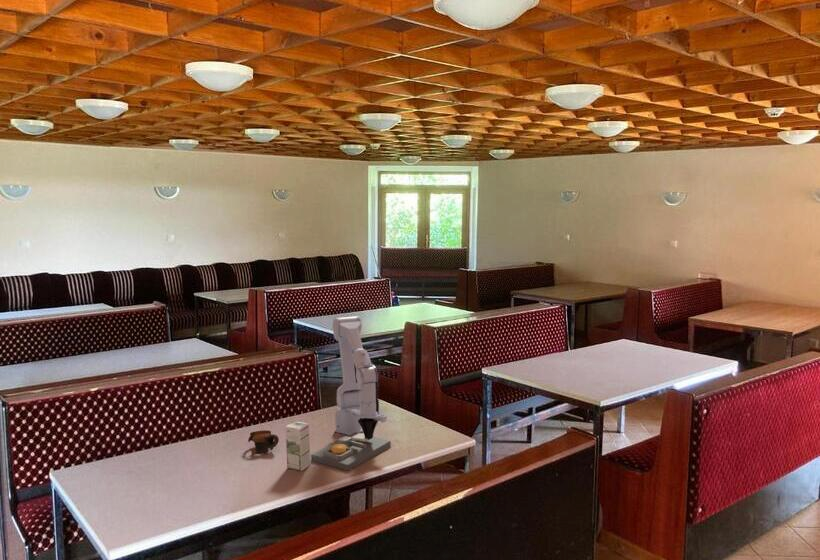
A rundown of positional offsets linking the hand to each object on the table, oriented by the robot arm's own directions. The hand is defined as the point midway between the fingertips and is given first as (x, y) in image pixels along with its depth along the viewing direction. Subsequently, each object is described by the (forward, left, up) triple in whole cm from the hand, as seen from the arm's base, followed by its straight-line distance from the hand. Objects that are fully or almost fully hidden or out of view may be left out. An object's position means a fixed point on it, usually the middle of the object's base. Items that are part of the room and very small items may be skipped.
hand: (368, 438), depth 213 cm
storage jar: (-23, +29, -4) cm, 37 cm away
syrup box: (-11, -24, -4) cm, 27 cm away
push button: (-3, -13, -1) cm, 13 cm away
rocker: (-3, 0, 0) cm, 3 cm away
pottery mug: (-31, -20, -4) cm, 37 cm away
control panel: (-3, -6, -4) cm, 8 cm away
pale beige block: (-6, -6, -2) cm, 9 cm away
